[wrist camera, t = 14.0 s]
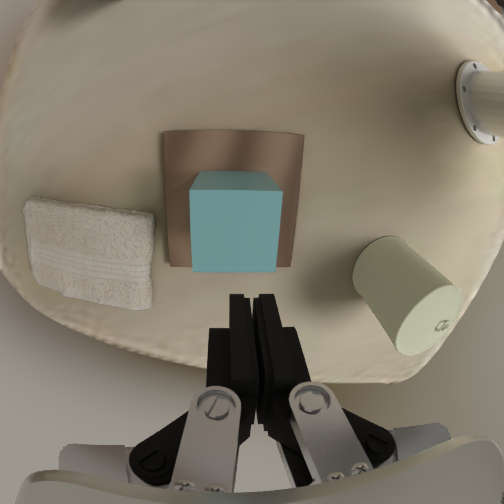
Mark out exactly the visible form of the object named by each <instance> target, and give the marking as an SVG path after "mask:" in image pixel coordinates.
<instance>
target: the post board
mask: <svg viewBox="0 0 504 504" xmlns="http://www.w3.org/2000/svg"><path fill="white" fill-rule="evenodd" d="M303 144H304V135H299V134H289V133H277V132H262V131H240V130H185V131H164V180H165V204H166V221H167V235H168V247H169V258H170V267H192V252H191V230H190V196H189V190H190V188H191V186H192V184H193V183H194V181H195V179H196V177H197V176H198V174H199V172H200V171H246V172H267V173H268V175H269V176H270V177H271V178H272V179H273V180H274V182H275V183H276V184H277V185H278V186H279V187H280V189H281V190H282V191H283V196H282V208H281V219H280V230H279V240H278V251H277V260H276V267H290V266H291V259H292V251H293V243H294V234H295V226H296V217H297V208H298V199H299V189H300V178H301V168H302V156H303Z"/></svg>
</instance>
